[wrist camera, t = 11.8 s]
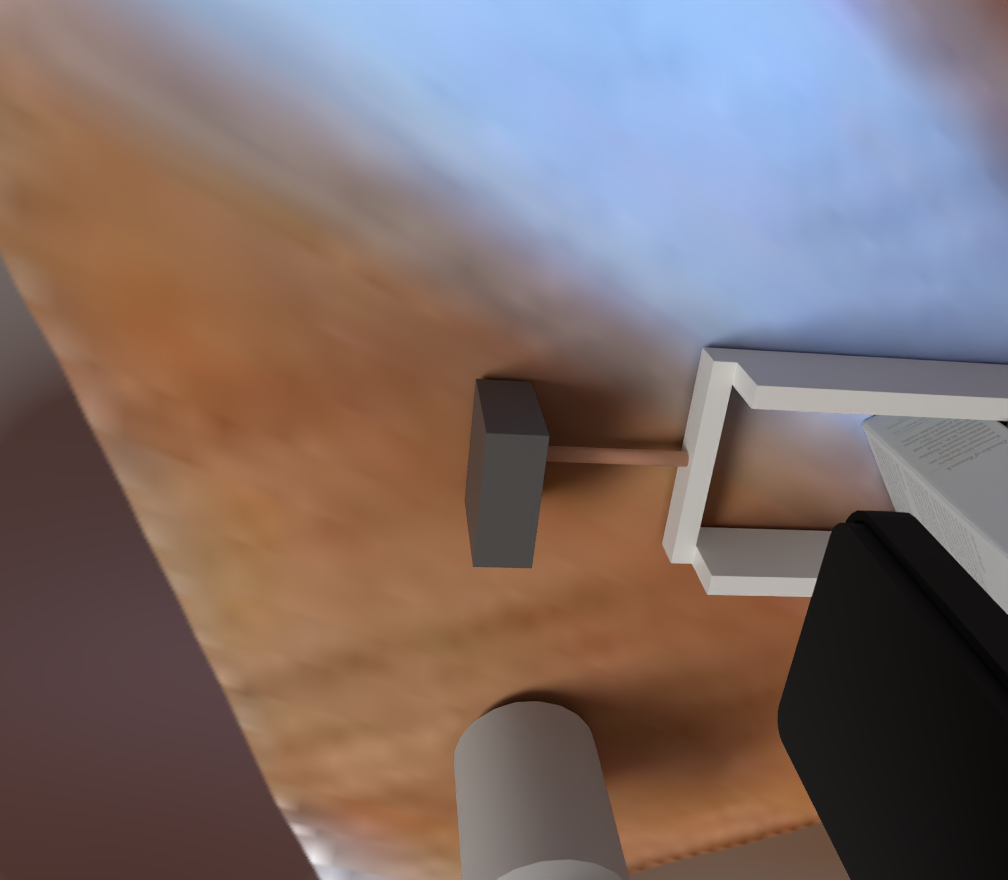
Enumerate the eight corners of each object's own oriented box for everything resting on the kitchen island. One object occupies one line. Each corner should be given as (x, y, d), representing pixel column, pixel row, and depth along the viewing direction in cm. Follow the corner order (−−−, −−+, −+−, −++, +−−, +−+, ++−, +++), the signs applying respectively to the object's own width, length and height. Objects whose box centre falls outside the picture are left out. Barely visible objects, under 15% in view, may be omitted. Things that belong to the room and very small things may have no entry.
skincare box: (977, 475, 44) (1159, 633, 34) (894, 515, 45) (1048, 683, 34) (944, 374, 42) (1131, 512, 31) (856, 418, 42) (1011, 568, 32)
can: (618, 714, 49) (679, 921, 38) (548, 808, 52) (587, 1025, 41) (494, 670, 47) (522, 877, 36) (428, 771, 49) (436, 990, 39)
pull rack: (480, 334, 38) (493, 393, 33) (1049, 367, 42) (1144, 425, 36) (461, 538, 43) (470, 619, 37) (977, 552, 46) (1053, 628, 41)
